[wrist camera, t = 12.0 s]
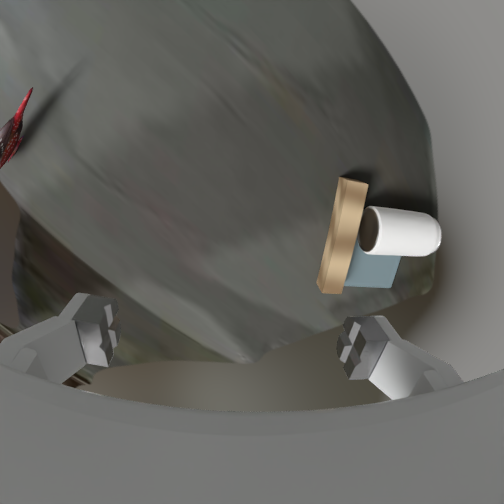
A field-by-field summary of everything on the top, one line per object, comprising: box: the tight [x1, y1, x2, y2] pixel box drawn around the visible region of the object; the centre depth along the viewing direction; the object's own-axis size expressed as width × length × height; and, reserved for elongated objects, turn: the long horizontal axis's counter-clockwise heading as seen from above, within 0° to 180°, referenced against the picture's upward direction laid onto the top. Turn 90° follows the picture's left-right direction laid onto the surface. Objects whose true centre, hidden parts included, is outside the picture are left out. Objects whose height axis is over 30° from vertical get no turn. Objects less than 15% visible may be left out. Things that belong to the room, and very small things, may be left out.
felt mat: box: [344, 238, 401, 288], centre depth 42 cm, size 12×10×1 cm
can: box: [357, 206, 442, 256], centre depth 37 cm, size 6×6×12 cm
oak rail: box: [317, 177, 368, 294], centre depth 39 cm, size 16×3×3 cm, turn 173°
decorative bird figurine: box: [0, 87, 33, 168], centre depth 25 cm, size 3×18×10 cm, turn 130°
